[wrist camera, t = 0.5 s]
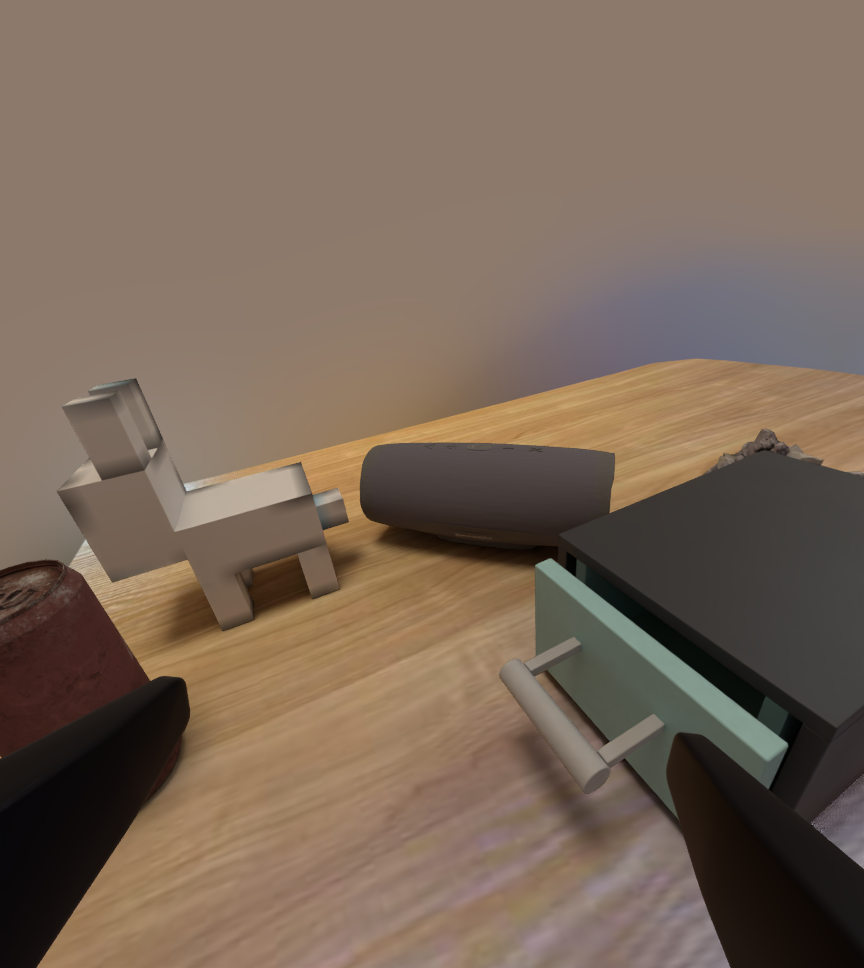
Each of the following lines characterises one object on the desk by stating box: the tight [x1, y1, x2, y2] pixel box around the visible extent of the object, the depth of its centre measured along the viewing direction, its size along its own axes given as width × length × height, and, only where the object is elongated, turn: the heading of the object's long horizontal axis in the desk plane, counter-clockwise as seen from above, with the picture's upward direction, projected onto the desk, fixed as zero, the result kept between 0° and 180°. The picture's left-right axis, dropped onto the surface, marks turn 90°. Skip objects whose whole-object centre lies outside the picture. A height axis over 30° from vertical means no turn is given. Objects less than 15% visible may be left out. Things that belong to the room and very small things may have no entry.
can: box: [0, 559, 182, 803], centre depth 21 cm, size 6×6×14 cm
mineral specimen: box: [698, 429, 864, 477], centre depth 37 cm, size 12×9×10 cm
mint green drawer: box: [499, 558, 803, 820], centre depth 23 cm, size 23×12×8 cm, turn 115°
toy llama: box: [57, 379, 349, 631], centre depth 34 cm, size 8×18×20 cm, turn 113°
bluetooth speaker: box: [360, 443, 615, 550], centre depth 40 cm, size 23×9×10 cm, turn 69°
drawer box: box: [558, 450, 864, 823], centre depth 24 cm, size 20×14×10 cm
